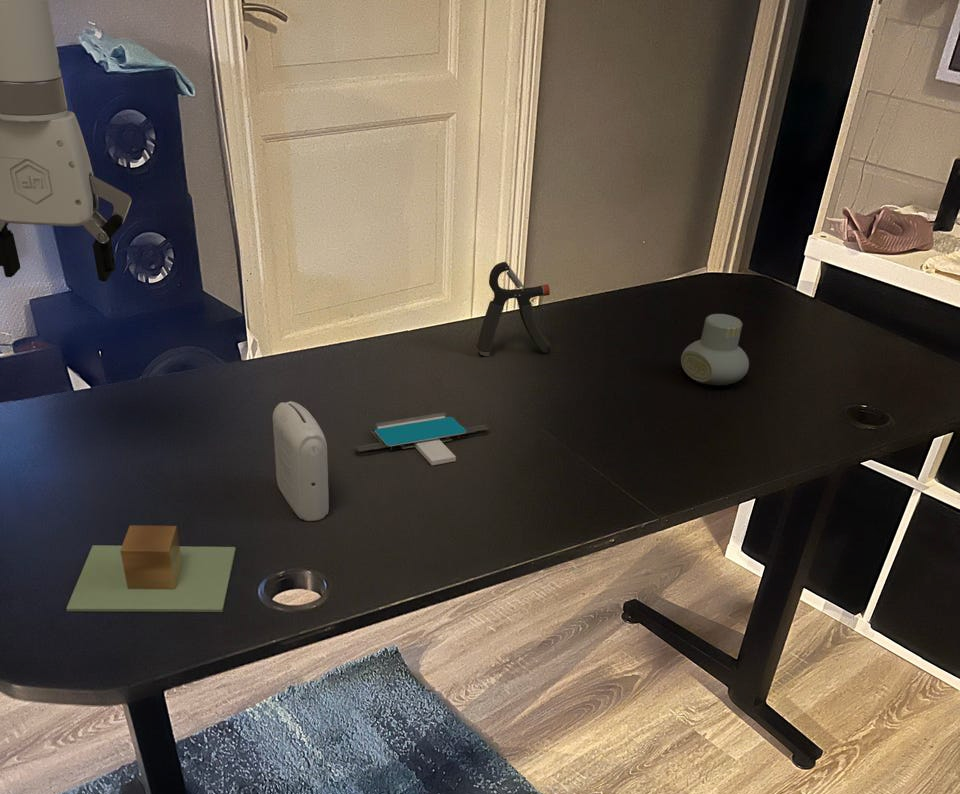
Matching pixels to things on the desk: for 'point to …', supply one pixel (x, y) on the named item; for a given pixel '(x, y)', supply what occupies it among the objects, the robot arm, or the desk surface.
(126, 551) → the block
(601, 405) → the desk surface
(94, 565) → the mat
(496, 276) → the hand grip strengthener
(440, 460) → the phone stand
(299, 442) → the photo printer
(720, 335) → the air freshener
